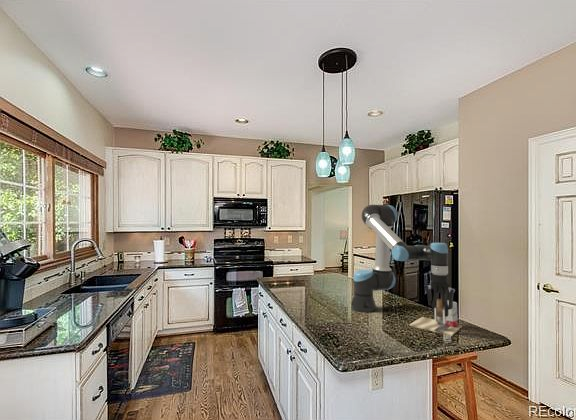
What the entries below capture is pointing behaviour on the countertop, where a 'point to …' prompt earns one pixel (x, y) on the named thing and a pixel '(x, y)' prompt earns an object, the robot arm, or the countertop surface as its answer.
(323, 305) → the countertop surface
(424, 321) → the subfloor board
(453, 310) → the ink box
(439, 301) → the awl dowel
